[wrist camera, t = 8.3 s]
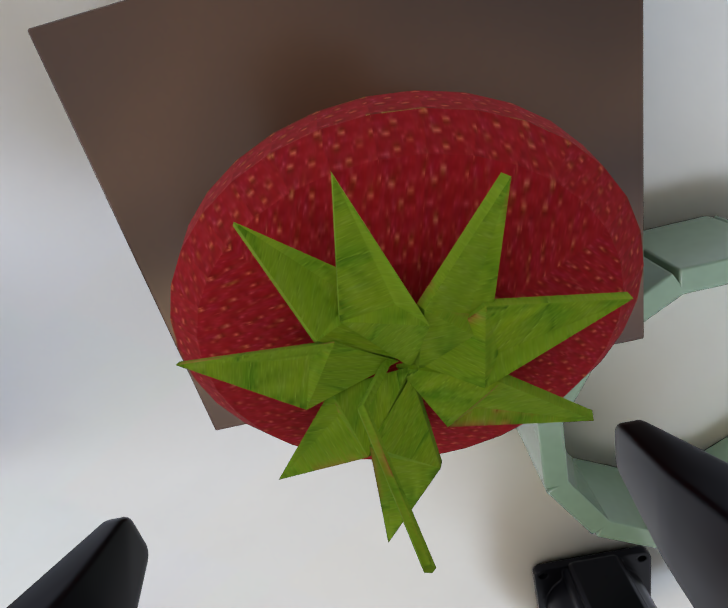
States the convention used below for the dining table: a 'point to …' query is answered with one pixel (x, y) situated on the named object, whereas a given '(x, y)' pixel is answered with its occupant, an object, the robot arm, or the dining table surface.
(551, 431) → the holder
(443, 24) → the shelf
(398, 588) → the dining table surface
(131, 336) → the dining table surface
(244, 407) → the strawberry
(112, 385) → the dining table surface
